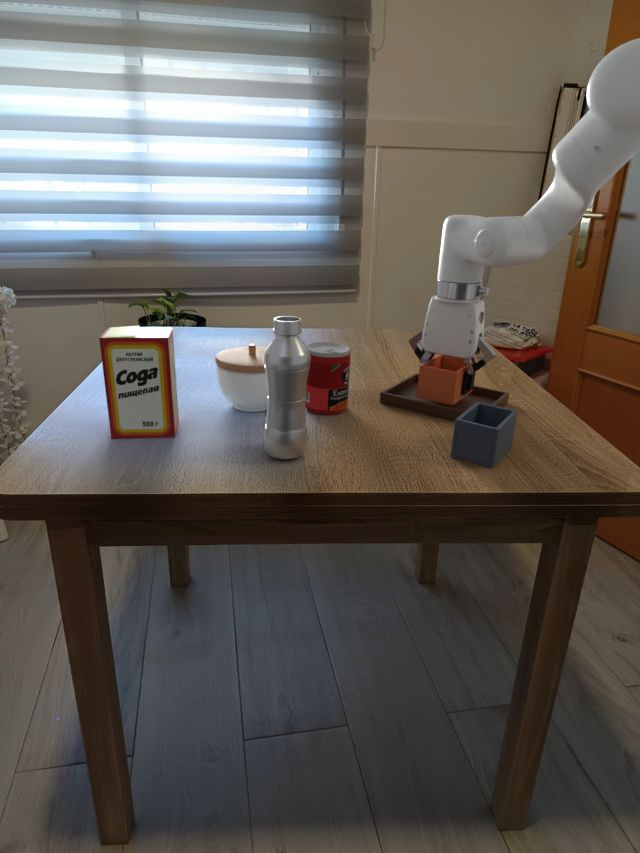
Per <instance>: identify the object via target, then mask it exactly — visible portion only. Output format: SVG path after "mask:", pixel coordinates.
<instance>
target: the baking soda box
mask: <svg viewBox="0 0 640 853" xmlns="http://www.w3.org/2000/svg"><path fill="white" fill-rule="evenodd" d="M173 330H174V328H173V327H170V326H167V327H166V326H165V327H164V326H163V327H162V326H152V327H151V326H141V325H128V326H127V325H126V326H110V327H108V328H106V329H105V331H104V332H103V333H102V334H101V336H99V337H98V339H99V347H100V348H99V349H100V356H101V364H102V374H103V381H104V388H105V398H106V406H107V414H108V422H109V423H108V424H109V432H110V439H111V440H116V439H119V440H120V439H155V438H176V436H177V432H178V427H179V424H180V423H179V422H180V417H179V401H178V389H177V387H178V385H177V374H176V359H175V343H174V331H173Z"/></svg>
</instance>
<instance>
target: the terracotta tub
mask: <svg viewBox="0 0 640 853" xmlns="http://www.w3.org/2000/svg"><path fill="white" fill-rule="evenodd" d="M476 361H477V359H476ZM477 362H478V361H477ZM465 373H466V367H465V365H464V362H463V359H461V358H456V357H450V356H445V355H440V354H437V356H434V357H433V358H432V359H431V360H429V361H427V362H425V363H423V364H420V365H419V369H418V374H419V377H418V387H417V397H419V398H423V399H427V400H431V401H436V402H440V403H444V404H449V405H454V404H455V403H457V402H458V401H459V400H461V399H462V398H464V397H465V396H466V395H468V394H469V393H470V392H472V391H473V389H472V390H470V392H468V393H467V394H466V395H462V394H461V390H462V383H463V376H464V374H465Z"/></svg>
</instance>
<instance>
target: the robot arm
mask: <svg viewBox="0 0 640 853" xmlns="http://www.w3.org/2000/svg"><path fill="white" fill-rule="evenodd" d="M585 98H586V105H587V108H588V110H587V111H586V113H585V114H584V115H583V116H582V117H581V118H580V119H579V120H578V122H576V124H575V125H574V126H573V127H572V128H571V129H570V130H569V131H568V132H567V133H566V134H565V136H563V138H562V139H561V140H560V141H559V142H558V143H557V144H556V145H555V147H554V148H553V150H552V153H551V154H552V155H551V161H552V164H553V167H554V170H555V172H554V177H553V180H552V181H551V184H550V186H549V187H548V189H547V190H546V191H545V193H544V194H542V196H541V197H540V198H539V200H538V201H537V202H536V203H535V204H534V205H533V206H532V207H531V208H529V210H528V211H527V212H526V213H525V214H523V215H507V216H489V217H485V216H482V215H475V214H451V215H448V216H447V217H446V218H445V219H444V221H443V224H442V232H441V240H440V249H439V259H438V268H437V278H436V286H435V294H434V295H433V296H431V298H430V300H429V301H430V302H429V304H428V307H427V312H426V315H425V319H424V324H423V330H421V331H420V332H419V333H417V334H415V335H414V336H412V337H411V338H409V339H408V343H409V345H410V347H411V349H412V350H413V353H414V355H415V356H416V357H417V359H418V360H419V364H420V365H421V364H423V363H425V362H427V361H429V360H431V359H433V358H435V355H445V356H450V357H456V358H461V359H463V362H464V365H465V367H466V373H465V374H464V376H463V383H462V390H461V394H462V395H466V394H467V393H468V392H470V390H472V389H473V386H475V378H476V373H477V371H479V370H480V369H482V368H483V367H485V366H486V365H487V364H488V363H490V362H491V361H493V359H495V357H496V356H497V353H496V352H495V351H494V349H493V348H492V346H490V345H489V344H488V342H487V341H486V340H485V339H484V337H485V320H486V319H485V318H486V317H485V314H486V313H485V312H486V308H485V301H484V300H481V298H482V297H484V296H485V297H488V295H489V293H490V288H489V287H486V286H484V282H483V276H484V269H485V267H488V268H502V267H503V268H504V267H511V266H518V265H527V264H531V263H533V262H535V261H537V260H538V259H541V258H543V256H544V255H546V254H547V253H549V252H550V251H551V249H553V248H554V247H556V245H558V243H559V242H560V241H562V239H564V238H565V237H566V236H567V235H568V234H570V232H571V231H572V230H573V229H574V228H575V227H576V225H578V223H579V222H580V221H581V219H583V217H584V215H585V213H586V212H587V210H589V207H590V206H591V204H592V203H593V201H594V200H595V196H596V194H597V193H598V192H599V190H600V189H602V187H603V186H604V185H605V184H606V183H607V182H608V181H609V180H611V178H613V177H614V176H615V175H616V174H617V173H618V172H619V170H621V169H622V168H623V167H624V166H625V165H626V164H627V163H628V162H629V161H630V160H631V159H632V158H633V157H634V156H635V155H637V154H638V153H639V152H640V37H639V38H638V37H637V38H634V39H631V40H629V41H627V42H625V43H623V44H620V45H619V46H617V47H615V48H614V49H612V50H611V51H610V52H608V53H607V54H606V55H605V56H603V58H602V59H601V60H600V61H599V62H598V64H597V65H596V67H595V68H594V69H593V71H592V73H591V75H590V77H589V79H588V83H587V86H586V94H585ZM481 353H482V354H483V357H482V358H480V359H479V360H478V361H476V360H477V358H476V355H479V354H481Z"/></svg>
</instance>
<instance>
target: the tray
mask: <svg viewBox="0 0 640 853" xmlns="http://www.w3.org/2000/svg"><path fill="white" fill-rule="evenodd" d="M418 377H419V373H416V372H415V373H413V374H411V375H410V376H408V377H406V378H404V379H402V380H400V381H399V382H397V383H395V384H393V385H391V386H390V387H388V388H385V389H384V390H382V391H380V392H379V403H380V404H385V405H389V406H393V407H396V408H400V409H405V410H409V411H412V412H416V413H421V414H425V415H429V416H432V417H438V418H442V419H444V420H445V419H446V420H450V421H454V422H455V419H457V418H458V417H459V416H460V415H462V414H463V413H464V412H465V411H467V410H468V409H469V408H470V407H472V406H473V405H474V404H475V403H477V402H480V403H485V404H489V405H494V406H498V407H503V408H504V407H505V406H506V405H507V404H508V402H509V397H510V392H507V391H502V390H498V389H493V388H487V387H483V386H478V385H474V386H473V391H472V392H470V393H469V394H468V395H466V396H465V397H464V398H462V399H461V400H459V401H458V402H457V403H455V404H454V405H449V404H444V403H440V402H436V401H431V400H427V399H423V398H419V397H417V387H418Z"/></svg>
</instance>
